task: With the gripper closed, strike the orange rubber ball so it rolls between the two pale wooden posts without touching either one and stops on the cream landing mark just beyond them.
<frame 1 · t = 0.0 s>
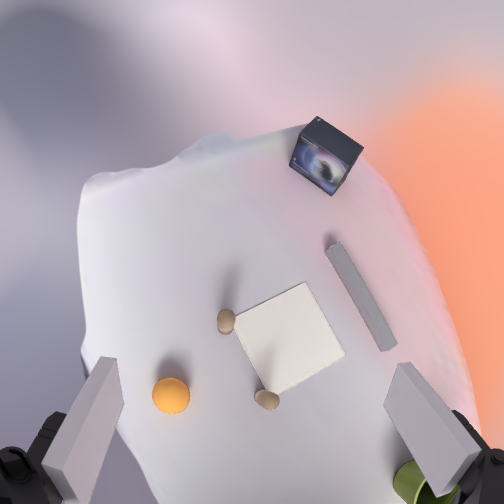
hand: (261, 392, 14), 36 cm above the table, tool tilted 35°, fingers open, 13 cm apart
post 1: (225, 326, 50), on the table
post 2: (262, 396, 46), on the table
small box: (317, 173, 63), on the table
plant pot: (408, 478, 42), on the table
stopper wall: (358, 299, 53), on the table
ball: (171, 395, 42), on the table
landing mark: (288, 338, 50), on the table
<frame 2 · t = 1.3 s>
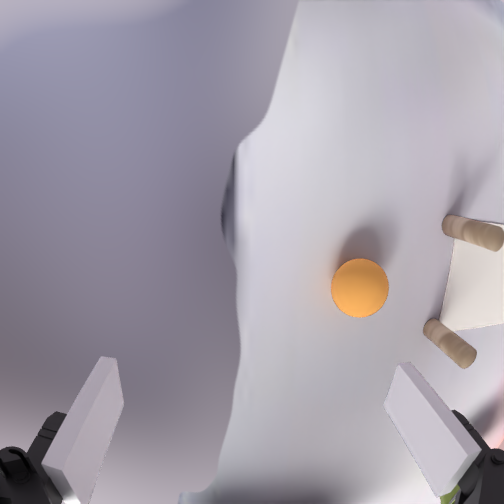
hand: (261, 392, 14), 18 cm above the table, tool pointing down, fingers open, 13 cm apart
post 1: (449, 225, 31), on the table
post 2: (431, 327, 34), on the table
ball: (360, 287, 29), on the table
landing mark: (485, 277, 33), on the table
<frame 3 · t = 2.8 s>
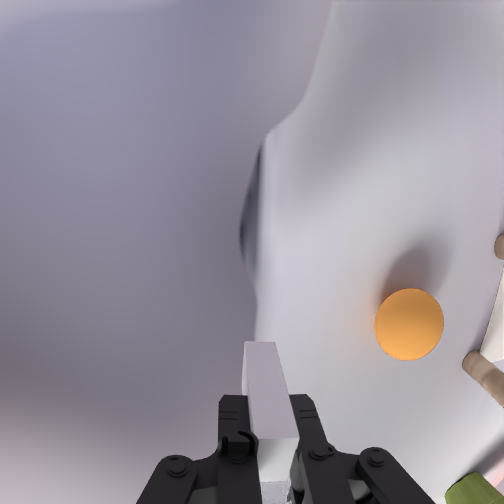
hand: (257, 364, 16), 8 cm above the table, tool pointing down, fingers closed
post 1: (501, 246, 24), on the table
post 2: (470, 360, 27), on the table
plant pot: (460, 484, 35), on the table
ball: (409, 324, 22), on the table
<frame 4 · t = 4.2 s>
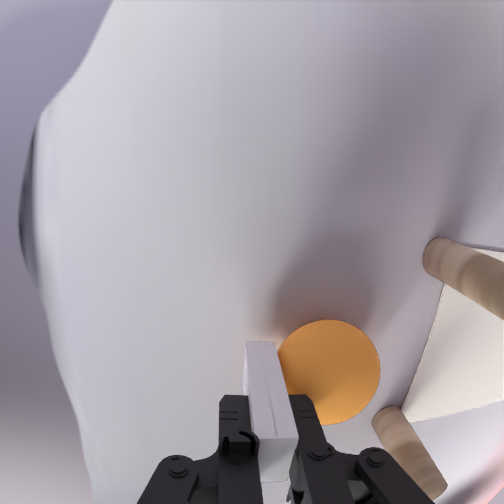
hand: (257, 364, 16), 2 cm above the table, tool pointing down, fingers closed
post 1: (438, 256, 17), on the table
post 2: (386, 417, 20), on the table
ball: (326, 372, 15), on the table
landing mark: (489, 341, 19), on the table
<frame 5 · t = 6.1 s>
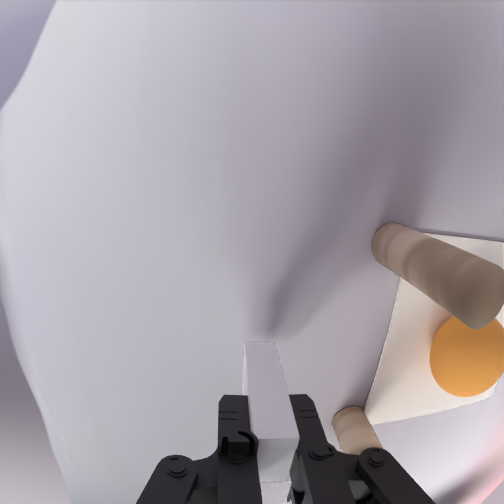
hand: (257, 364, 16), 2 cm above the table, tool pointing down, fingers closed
post 1: (391, 244, 17), on the table
post 2: (348, 418, 20), on the table
ball: (469, 353, 16), on the table
landing mark: (464, 336, 19), on the table
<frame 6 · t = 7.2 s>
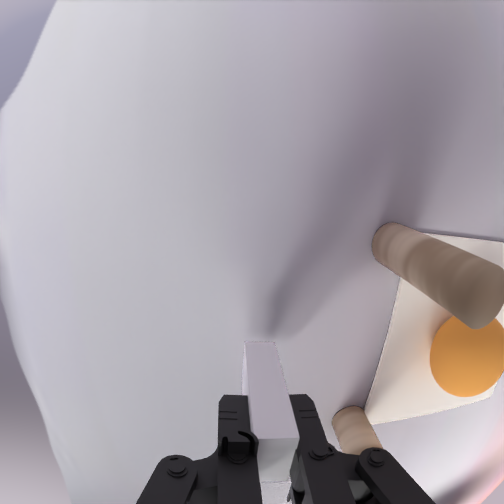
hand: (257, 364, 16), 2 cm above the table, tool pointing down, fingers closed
post 1: (391, 244, 17), on the table
post 2: (348, 418, 20), on the table
ball: (469, 353, 16), on the table
landing mark: (464, 336, 19), on the table
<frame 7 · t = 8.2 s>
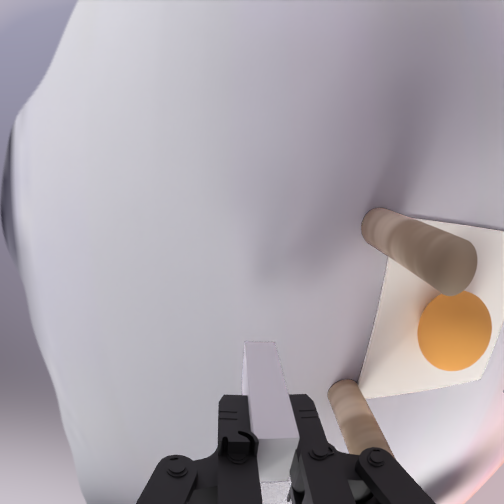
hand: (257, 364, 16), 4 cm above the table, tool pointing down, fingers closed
post 1: (378, 227, 19), on the table
post 2: (343, 391, 22), on the table
ball: (455, 330, 18), on the table
landing mark: (451, 316, 21), on the table
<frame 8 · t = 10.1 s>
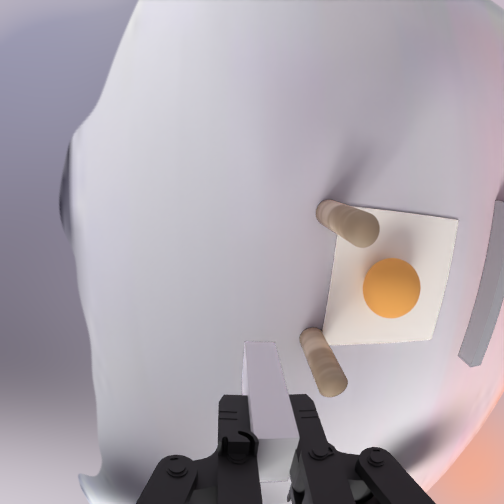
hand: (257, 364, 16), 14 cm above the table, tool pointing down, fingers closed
post 1: (328, 212, 28), on the table
post 2: (311, 337, 31), on the table
stopper wall: (485, 282, 32), on the table
ball: (391, 288, 28), on the table
landing mark: (394, 281, 30), on the table
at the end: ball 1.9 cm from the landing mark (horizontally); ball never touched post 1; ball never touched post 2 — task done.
